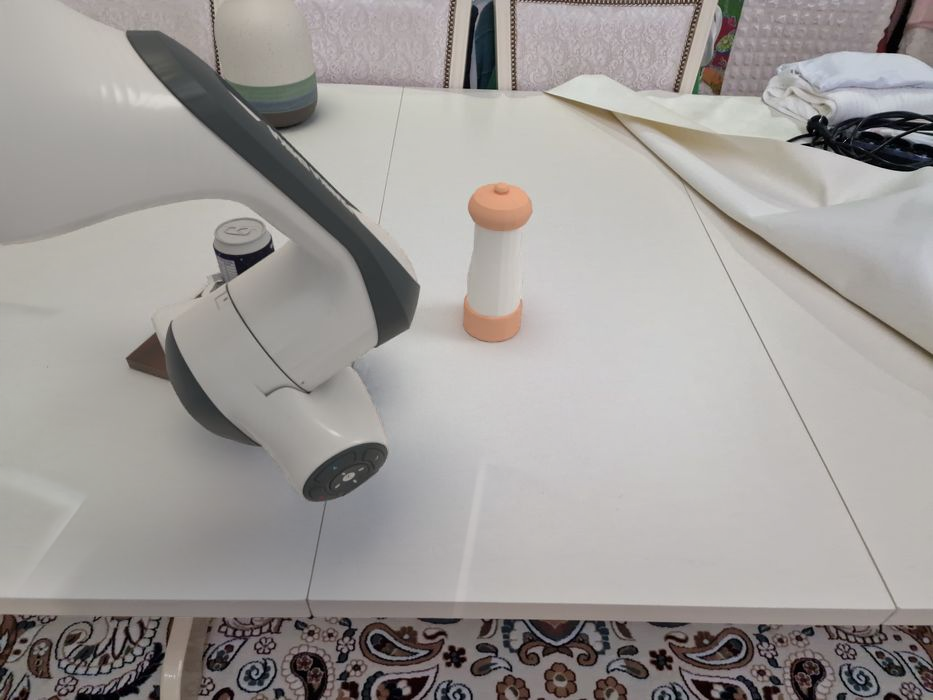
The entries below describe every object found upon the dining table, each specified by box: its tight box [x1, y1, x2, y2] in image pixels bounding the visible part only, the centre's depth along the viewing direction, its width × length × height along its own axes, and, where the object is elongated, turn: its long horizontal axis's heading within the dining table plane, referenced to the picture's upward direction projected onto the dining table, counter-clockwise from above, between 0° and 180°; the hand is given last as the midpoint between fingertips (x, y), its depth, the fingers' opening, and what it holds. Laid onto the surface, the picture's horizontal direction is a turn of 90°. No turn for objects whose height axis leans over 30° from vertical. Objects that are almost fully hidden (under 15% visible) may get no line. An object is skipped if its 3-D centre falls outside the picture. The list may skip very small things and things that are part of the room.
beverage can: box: [212, 216, 276, 283], centre depth 64 cm, size 6×6×12 cm
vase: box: [213, 0, 319, 128], centre depth 115 cm, size 17×17×24 cm
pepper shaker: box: [462, 182, 533, 343], centre depth 71 cm, size 7×7×19 cm
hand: (248, 271), depth 65 cm, fingers closed on beverage can, 5 cm apart
